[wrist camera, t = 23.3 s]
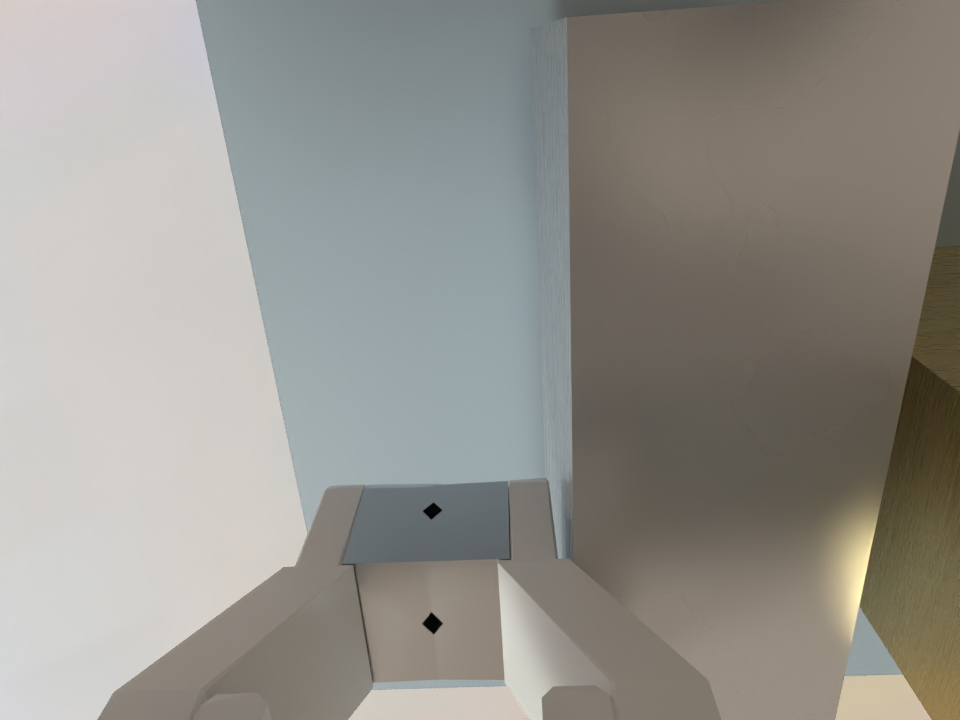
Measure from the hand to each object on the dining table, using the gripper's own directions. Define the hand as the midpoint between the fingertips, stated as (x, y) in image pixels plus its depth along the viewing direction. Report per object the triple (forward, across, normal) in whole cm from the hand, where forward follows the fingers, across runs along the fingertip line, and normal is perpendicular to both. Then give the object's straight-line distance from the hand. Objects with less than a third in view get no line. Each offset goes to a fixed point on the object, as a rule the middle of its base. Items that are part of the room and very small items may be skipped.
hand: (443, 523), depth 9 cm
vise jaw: (+4, -3, 0) cm, 5 cm away
